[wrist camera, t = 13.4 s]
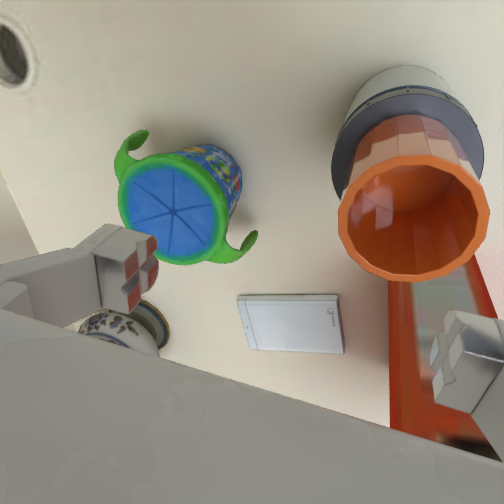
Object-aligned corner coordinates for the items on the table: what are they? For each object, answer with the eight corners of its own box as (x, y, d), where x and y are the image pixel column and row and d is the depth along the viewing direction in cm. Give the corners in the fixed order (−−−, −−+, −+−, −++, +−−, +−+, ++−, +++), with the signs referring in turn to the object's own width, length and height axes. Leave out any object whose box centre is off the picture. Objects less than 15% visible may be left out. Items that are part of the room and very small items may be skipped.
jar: (327, 124, 37) (303, 167, 27) (404, 40, 32) (410, 53, 22) (395, 188, 39) (396, 252, 28) (479, 116, 34) (519, 163, 23)
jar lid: (308, 161, 28) (303, 170, 27) (409, 54, 23) (410, 57, 22) (396, 241, 29) (396, 255, 28) (510, 156, 24) (519, 167, 23)
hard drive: (336, 301, 45) (235, 302, 50) (344, 355, 49) (249, 352, 53) (338, 293, 47) (239, 294, 51) (345, 346, 50) (253, 343, 55)
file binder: (474, 245, 39) (647, 722, 13) (463, 373, 47) (554, 829, 21) (387, 247, 42) (383, 643, 16) (390, 367, 50) (391, 765, 24)
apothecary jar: (124, 354, 64) (44, 457, 50) (90, 293, 59) (-9, 387, 44) (188, 354, 60) (121, 467, 45) (158, 287, 55) (71, 390, 40)
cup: (331, 168, 26) (310, 222, 19) (409, 90, 22) (417, 122, 16) (399, 231, 27) (402, 303, 20) (486, 165, 23) (523, 226, 17)
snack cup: (133, 152, 45) (75, 184, 37) (190, 85, 39) (136, 105, 31) (228, 251, 48) (193, 302, 40) (292, 203, 43) (268, 249, 34)
